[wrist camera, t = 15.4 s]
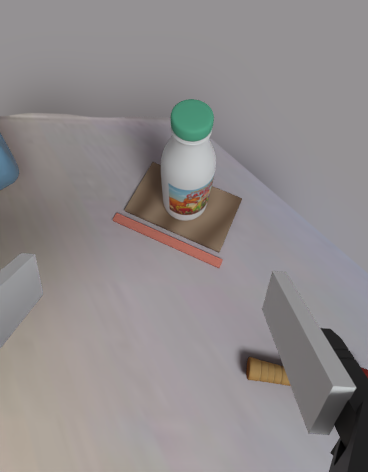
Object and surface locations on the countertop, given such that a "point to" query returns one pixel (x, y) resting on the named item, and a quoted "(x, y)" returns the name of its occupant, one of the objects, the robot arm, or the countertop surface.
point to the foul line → (168, 240)
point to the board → (198, 230)
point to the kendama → (269, 372)
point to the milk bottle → (188, 160)
